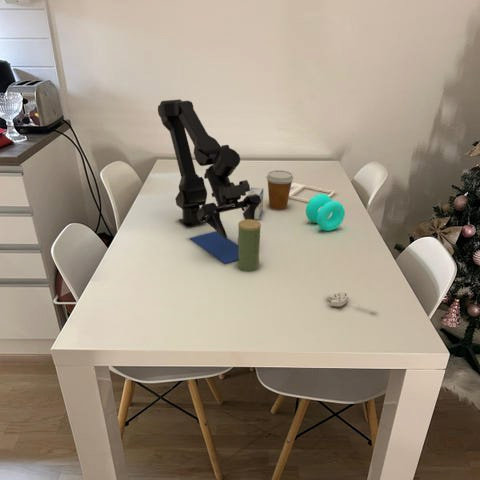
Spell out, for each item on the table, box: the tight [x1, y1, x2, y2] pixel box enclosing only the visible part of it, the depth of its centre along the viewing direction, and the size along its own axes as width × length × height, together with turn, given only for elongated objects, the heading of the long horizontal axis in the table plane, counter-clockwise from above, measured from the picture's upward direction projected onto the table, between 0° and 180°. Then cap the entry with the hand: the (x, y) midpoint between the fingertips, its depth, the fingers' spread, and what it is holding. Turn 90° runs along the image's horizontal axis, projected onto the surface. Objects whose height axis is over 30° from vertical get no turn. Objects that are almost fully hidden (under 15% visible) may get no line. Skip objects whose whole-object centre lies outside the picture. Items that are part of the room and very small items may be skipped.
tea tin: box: [237, 219, 262, 272], centre depth 137 cm, size 6×6×13 cm
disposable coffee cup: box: [265, 169, 294, 211], centre depth 175 cm, size 10×10×12 cm
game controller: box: [328, 291, 373, 312], centre depth 124 cm, size 6×12×3 cm, turn 77°
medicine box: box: [246, 186, 264, 221], centre depth 169 cm, size 8×4×9 cm, turn 168°
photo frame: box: [288, 182, 336, 203], centre depth 189 cm, size 15×1×18 cm
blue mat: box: [189, 230, 238, 265], centre depth 150 cm, size 20×10×1 cm, turn 35°
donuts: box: [305, 193, 346, 232], centre depth 162 cm, size 10×10×10 cm
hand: (239, 234), depth 139 cm, fingers open, 9 cm apart
